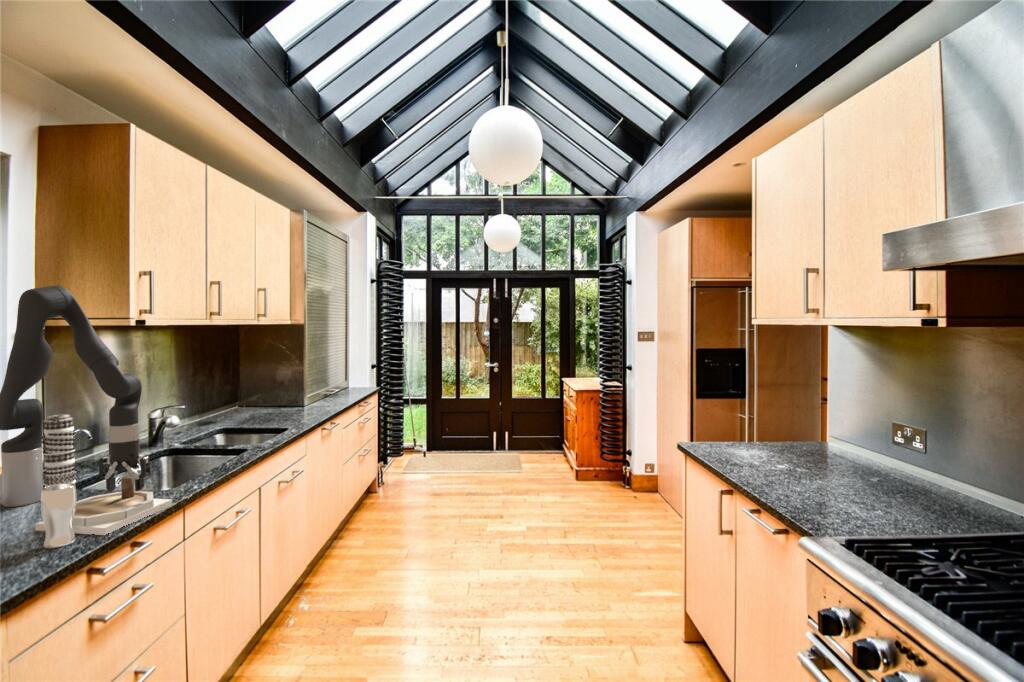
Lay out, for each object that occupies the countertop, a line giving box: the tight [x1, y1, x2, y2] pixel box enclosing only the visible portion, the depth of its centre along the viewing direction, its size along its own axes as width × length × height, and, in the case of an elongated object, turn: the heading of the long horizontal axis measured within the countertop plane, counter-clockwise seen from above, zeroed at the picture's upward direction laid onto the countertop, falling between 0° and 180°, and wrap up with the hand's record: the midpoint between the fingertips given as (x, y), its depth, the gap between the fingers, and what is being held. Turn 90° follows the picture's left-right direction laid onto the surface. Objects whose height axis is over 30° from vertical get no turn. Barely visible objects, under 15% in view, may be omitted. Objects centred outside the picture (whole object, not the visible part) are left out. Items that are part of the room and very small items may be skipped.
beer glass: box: [39, 482, 78, 549], centre depth 126 cm, size 7×7×15 cm
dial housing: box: [35, 490, 173, 536], centre depth 143 cm, size 22×22×4 cm
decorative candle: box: [42, 413, 78, 487], centre depth 173 cm, size 9×9×25 cm
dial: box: [75, 476, 144, 516], centre depth 143 cm, size 17×17×8 cm
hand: (125, 490), depth 150 cm, fingers open, 8 cm apart
